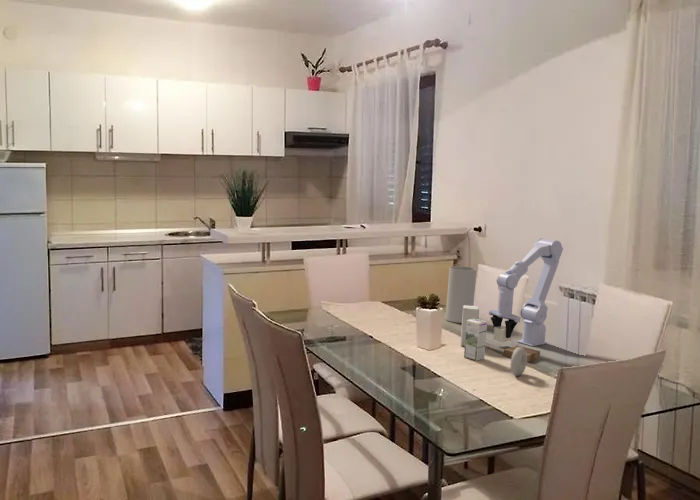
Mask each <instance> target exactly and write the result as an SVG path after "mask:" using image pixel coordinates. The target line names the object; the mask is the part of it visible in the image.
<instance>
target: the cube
mask: <svg viewBox="0 0 700 500" xmlns="http://www.w3.org/2000/svg"><path fill="white" fill-rule="evenodd" d="M512 337H513V333H512V334H511V337H510V338H506V325H501V326H499V327H494V326H493V340H495V341H497V342H502V343H507V342H511V341H512Z"/></svg>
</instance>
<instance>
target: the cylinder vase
mask: <svg viewBox="0 0 700 500" xmlns="http://www.w3.org/2000/svg"><path fill="white" fill-rule="evenodd" d="M448 268H449V269H448V279H447V280H448V282H447V295H446V304H445V305H446V306H445V320H446V321H448V322H451V323H454V324H462V315H463V306H464V305H468V306H475V305H474V302H475V290H476V279H477V269H476V268H475V267H469V266H459V265H458V266H457V265H455V266H453V265H452V266H449V267H448Z"/></svg>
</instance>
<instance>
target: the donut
mask: <svg viewBox="0 0 700 500" xmlns="http://www.w3.org/2000/svg"><path fill="white" fill-rule="evenodd" d="M522 347H523V346H521V347H518V348H516V349H515V350H514V352H513V354H512V358H510V370H511V373H512V374H513V375H514V376H517V377H519V376H521V375H523V373H524V372H525V370H526V366H527V363H528V362H527V353H526V350H525V349H524V348H522Z"/></svg>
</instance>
